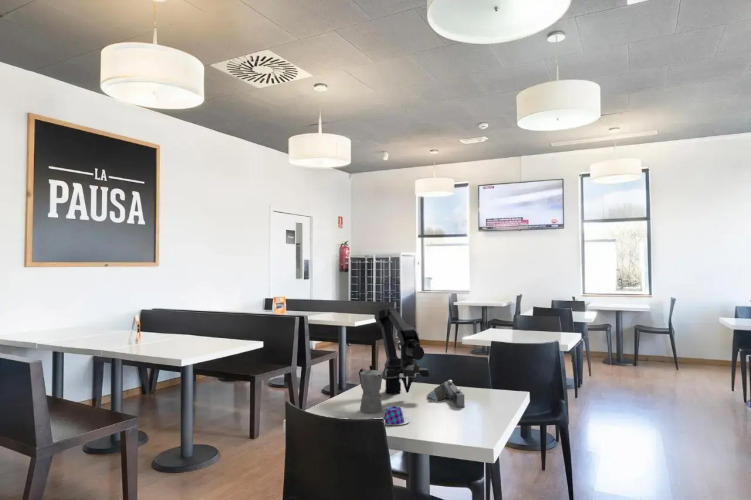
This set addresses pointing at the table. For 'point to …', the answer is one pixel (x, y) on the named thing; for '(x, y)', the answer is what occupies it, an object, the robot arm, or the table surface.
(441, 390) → the chocolate cake
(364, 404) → the coffeepot
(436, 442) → the table surface
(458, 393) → the stop rail
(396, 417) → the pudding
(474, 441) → the table surface
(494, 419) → the table surface
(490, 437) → the table surface
